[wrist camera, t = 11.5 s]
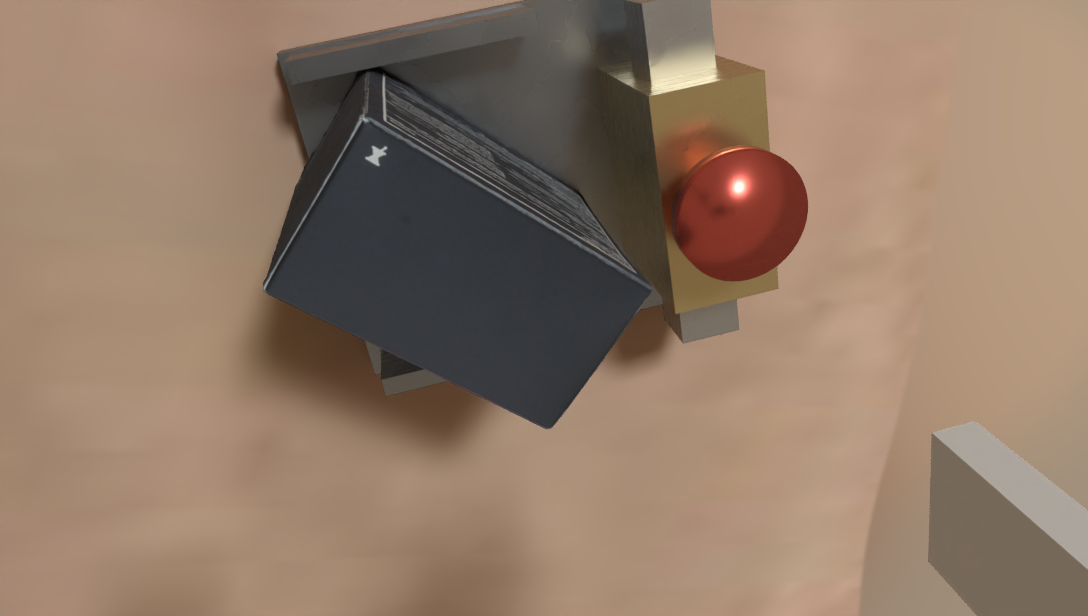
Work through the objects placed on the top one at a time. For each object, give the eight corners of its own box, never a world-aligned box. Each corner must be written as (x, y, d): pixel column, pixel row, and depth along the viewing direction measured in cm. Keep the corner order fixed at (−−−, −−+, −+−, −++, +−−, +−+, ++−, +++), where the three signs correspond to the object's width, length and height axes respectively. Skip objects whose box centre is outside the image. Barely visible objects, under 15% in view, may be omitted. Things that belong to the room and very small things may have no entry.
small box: (285, 197, 33) (246, 298, 24) (365, 54, 32) (359, 100, 22) (506, 316, 37) (549, 443, 27) (587, 194, 35) (663, 284, 26)
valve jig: (375, 364, 38) (373, 500, 28) (279, 50, 32) (238, 93, 23) (712, 282, 39) (815, 385, 30) (681, -33, 33) (797, -25, 24)
